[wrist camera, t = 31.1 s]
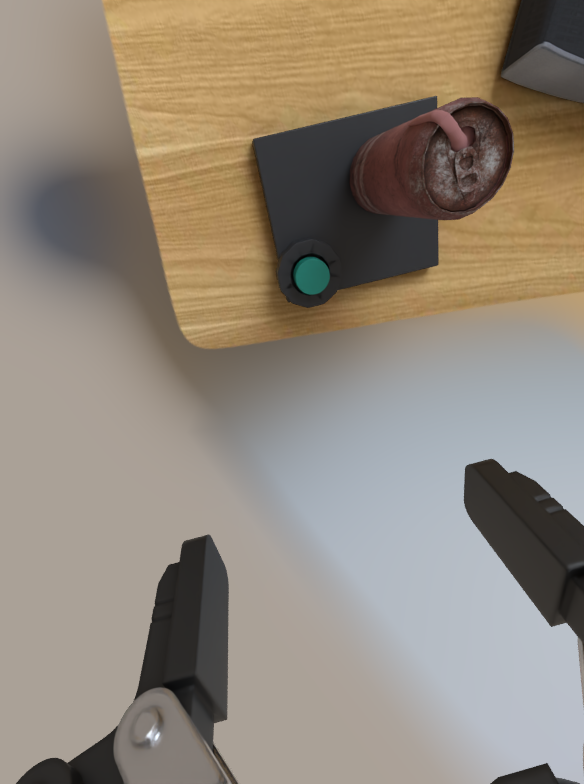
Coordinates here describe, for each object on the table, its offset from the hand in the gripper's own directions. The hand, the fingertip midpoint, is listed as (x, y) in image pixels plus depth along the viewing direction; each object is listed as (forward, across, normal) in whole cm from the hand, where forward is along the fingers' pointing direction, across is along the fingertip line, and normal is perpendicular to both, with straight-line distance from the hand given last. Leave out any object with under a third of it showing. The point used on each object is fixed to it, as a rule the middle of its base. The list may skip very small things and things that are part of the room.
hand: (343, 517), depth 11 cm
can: (+29, +12, +8) cm, 33 cm away
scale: (+30, +10, +6) cm, 32 cm away
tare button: (+27, +4, +2) cm, 28 cm away
